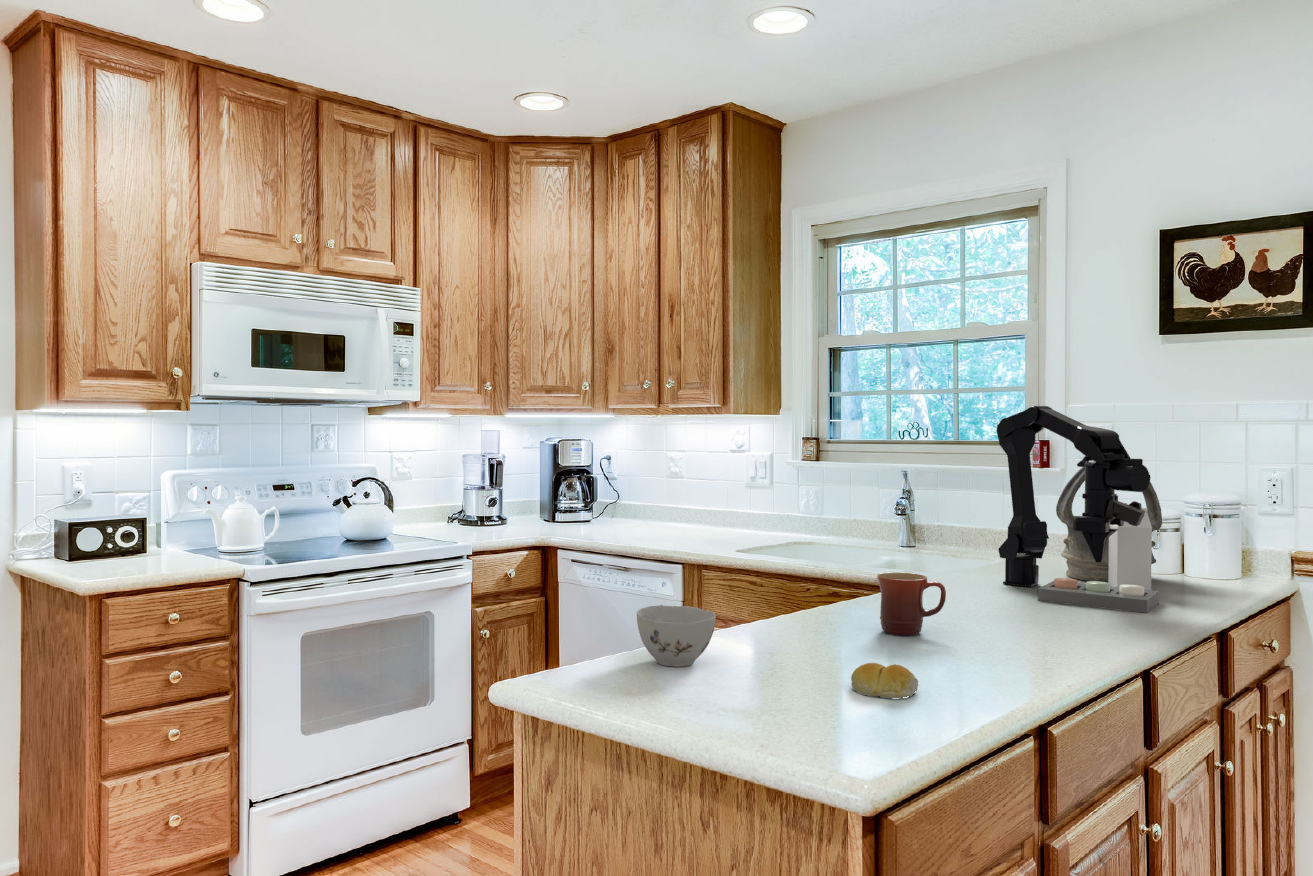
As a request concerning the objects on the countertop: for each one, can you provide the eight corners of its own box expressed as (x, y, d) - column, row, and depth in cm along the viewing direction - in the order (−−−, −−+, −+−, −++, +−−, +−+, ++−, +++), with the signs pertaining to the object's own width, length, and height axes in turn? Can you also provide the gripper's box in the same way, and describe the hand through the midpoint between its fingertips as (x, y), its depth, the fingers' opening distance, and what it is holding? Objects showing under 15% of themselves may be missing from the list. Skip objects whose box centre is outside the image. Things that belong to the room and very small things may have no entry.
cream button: (1117, 601, 193) (1117, 586, 193) (1121, 597, 196) (1122, 583, 196) (1141, 603, 190) (1141, 589, 190) (1145, 600, 193) (1146, 586, 193)
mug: (874, 635, 164) (874, 578, 164) (878, 625, 172) (879, 571, 172) (944, 641, 160) (945, 582, 160) (946, 630, 168) (946, 574, 168)
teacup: (698, 677, 137) (698, 623, 136) (622, 667, 142) (622, 615, 141) (731, 654, 150) (732, 605, 150) (661, 646, 155) (661, 599, 155)
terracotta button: (1051, 593, 201) (1051, 580, 200) (1057, 590, 204) (1057, 577, 204) (1074, 596, 198) (1074, 582, 198) (1079, 593, 201) (1079, 579, 201)
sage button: (1083, 597, 197) (1083, 583, 197) (1088, 594, 200) (1089, 580, 200) (1107, 599, 194) (1107, 585, 194) (1112, 596, 197) (1112, 582, 197)
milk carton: (1151, 594, 206) (1152, 509, 206) (1116, 593, 208) (1118, 508, 207) (1141, 589, 213) (1142, 506, 213) (1108, 587, 215) (1109, 506, 214)
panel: (1037, 600, 198) (1038, 588, 198) (1054, 592, 209) (1054, 580, 209) (1146, 613, 185) (1147, 600, 185) (1158, 603, 196) (1158, 591, 196)
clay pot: (1158, 589, 213) (1160, 459, 213) (1050, 579, 226) (1051, 457, 225) (1163, 576, 232) (1165, 457, 232) (1063, 568, 244) (1065, 454, 244)
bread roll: (862, 680, 136) (862, 653, 136) (922, 690, 131) (922, 662, 131) (841, 694, 129) (841, 665, 129) (904, 705, 124) (904, 675, 124)
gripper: (1132, 493, 184) (1131, 571, 184) (1150, 488, 199) (1149, 560, 199) (1073, 490, 191) (1072, 565, 191) (1094, 486, 206) (1093, 556, 206)
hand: (1098, 562), depth 197 cm, fingers closed
